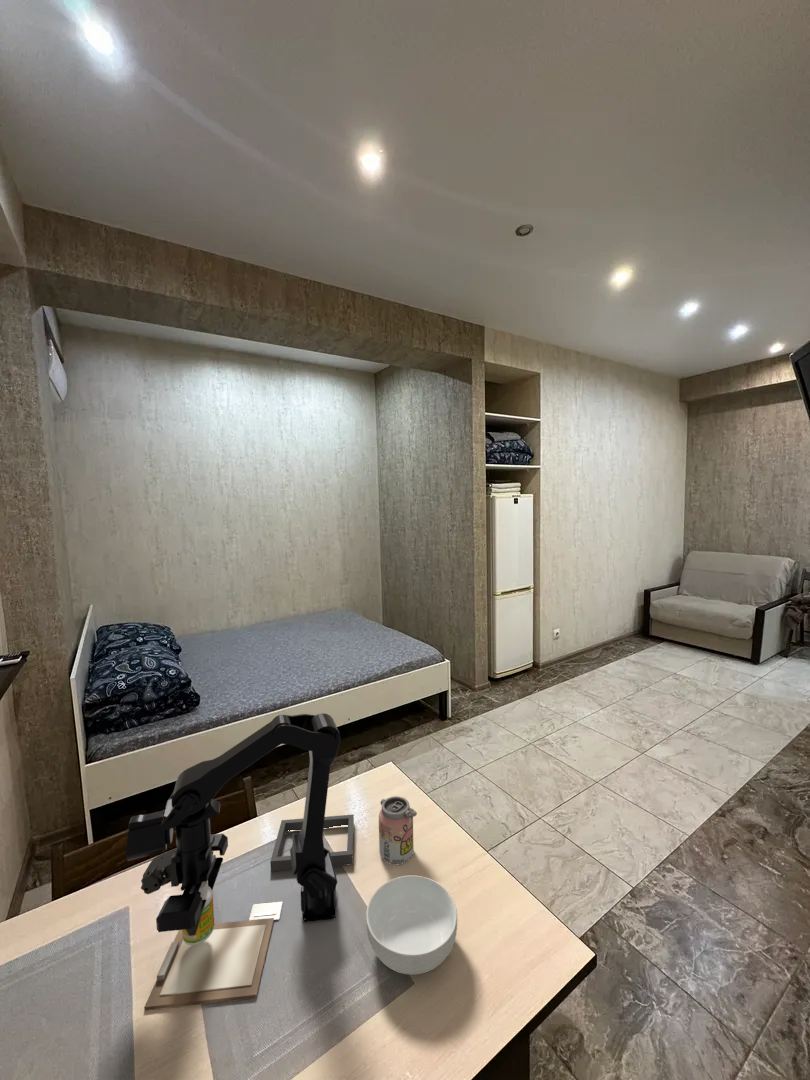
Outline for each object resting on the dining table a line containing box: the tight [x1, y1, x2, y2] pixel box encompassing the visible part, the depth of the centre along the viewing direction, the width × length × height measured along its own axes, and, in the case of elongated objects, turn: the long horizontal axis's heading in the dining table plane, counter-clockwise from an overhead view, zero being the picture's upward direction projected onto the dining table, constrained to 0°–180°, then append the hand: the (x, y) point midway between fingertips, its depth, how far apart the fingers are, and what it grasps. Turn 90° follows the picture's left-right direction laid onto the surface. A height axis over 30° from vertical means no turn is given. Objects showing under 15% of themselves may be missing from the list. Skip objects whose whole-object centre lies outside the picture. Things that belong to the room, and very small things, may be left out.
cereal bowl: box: [365, 874, 458, 976], centre depth 82 cm, size 17×17×7 cm
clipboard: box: [143, 918, 275, 1011], centre depth 80 cm, size 18×14×2 cm
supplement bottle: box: [182, 880, 215, 945], centre depth 82 cm, size 5×5×10 cm
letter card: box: [248, 901, 283, 922], centre depth 89 cm, size 6×4×1 cm, turn 95°
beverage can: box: [378, 795, 418, 865], centre depth 104 cm, size 9×8×12 cm
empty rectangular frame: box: [270, 813, 355, 873], centre depth 107 cm, size 18×13×2 cm
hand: (198, 919), depth 82 cm, fingers closed on supplement bottle, 5 cm apart
